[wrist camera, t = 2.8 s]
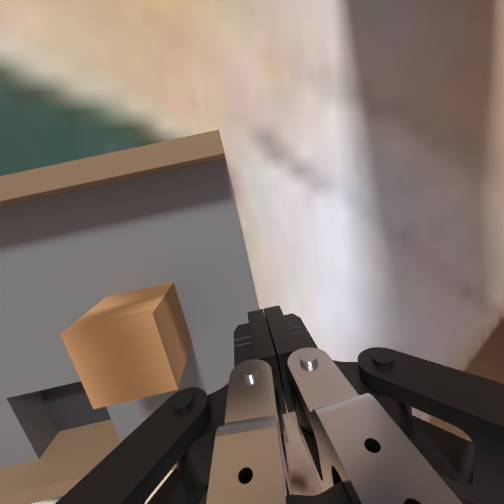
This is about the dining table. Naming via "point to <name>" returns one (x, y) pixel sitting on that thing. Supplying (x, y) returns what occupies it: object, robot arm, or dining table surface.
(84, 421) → the box
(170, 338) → the block
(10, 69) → the dining table surface
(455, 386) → the robot arm
